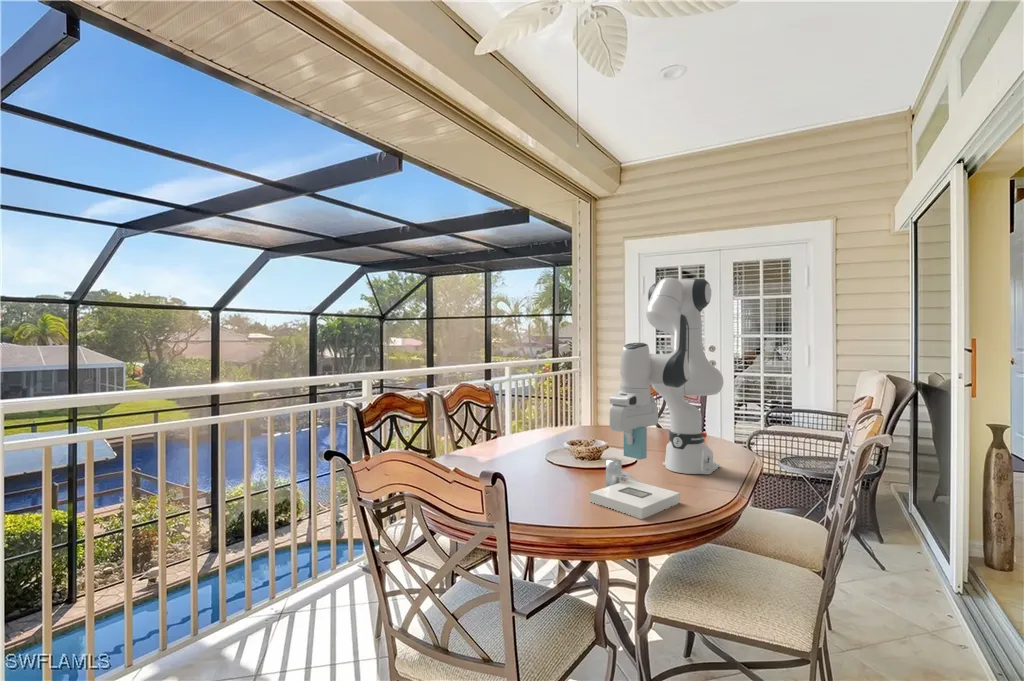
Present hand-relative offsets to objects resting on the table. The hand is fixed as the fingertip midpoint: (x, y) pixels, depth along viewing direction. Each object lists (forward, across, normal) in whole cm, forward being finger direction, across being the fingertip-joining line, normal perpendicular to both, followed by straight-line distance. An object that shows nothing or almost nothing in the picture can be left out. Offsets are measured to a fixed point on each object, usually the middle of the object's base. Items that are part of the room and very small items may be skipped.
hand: (634, 443), depth 144 cm
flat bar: (+4, 0, 0) cm, 4 cm away
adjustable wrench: (+18, -16, -12) cm, 27 cm away
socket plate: (+18, 0, 0) cm, 18 cm away
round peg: (+18, -7, -13) cm, 23 cm away
